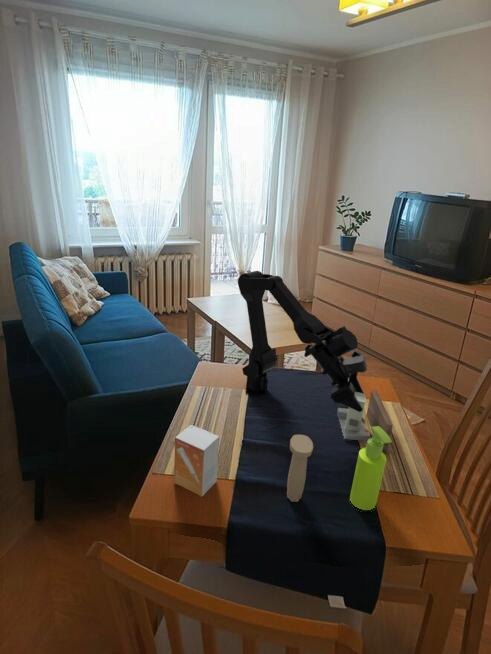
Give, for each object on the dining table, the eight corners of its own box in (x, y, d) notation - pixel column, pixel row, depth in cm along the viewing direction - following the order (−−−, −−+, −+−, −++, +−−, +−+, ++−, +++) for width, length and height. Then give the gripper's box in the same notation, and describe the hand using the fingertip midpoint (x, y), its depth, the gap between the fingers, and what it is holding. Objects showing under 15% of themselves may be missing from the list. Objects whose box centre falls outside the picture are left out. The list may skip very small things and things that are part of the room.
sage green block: (344, 430, 127) (350, 400, 123) (346, 420, 132) (351, 391, 129) (358, 433, 126) (364, 403, 122) (359, 423, 131) (365, 394, 128)
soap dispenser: (359, 517, 97) (376, 442, 90) (344, 495, 103) (359, 422, 96) (383, 513, 99) (401, 438, 91) (367, 491, 105) (382, 420, 97)
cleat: (344, 439, 123) (345, 433, 123) (337, 413, 136) (338, 407, 135) (369, 442, 123) (370, 436, 123) (359, 415, 136) (360, 409, 135)
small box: (173, 483, 102) (174, 437, 98) (189, 468, 108) (191, 423, 103) (201, 498, 99) (204, 450, 94) (217, 481, 104) (220, 435, 99)
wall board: (380, 452, 119) (386, 424, 116) (366, 415, 136) (371, 390, 133) (392, 453, 119) (398, 425, 116) (376, 416, 136) (382, 391, 133)
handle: (302, 488, 104) (311, 435, 99) (305, 509, 98) (314, 453, 93) (282, 487, 104) (289, 433, 99) (284, 507, 98) (291, 451, 93)
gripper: (350, 360, 113) (386, 406, 114) (354, 334, 130) (386, 375, 131) (315, 380, 118) (350, 425, 119) (324, 353, 134) (355, 392, 136)
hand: (362, 403), depth 126 cm, fingers open, 9 cm apart
